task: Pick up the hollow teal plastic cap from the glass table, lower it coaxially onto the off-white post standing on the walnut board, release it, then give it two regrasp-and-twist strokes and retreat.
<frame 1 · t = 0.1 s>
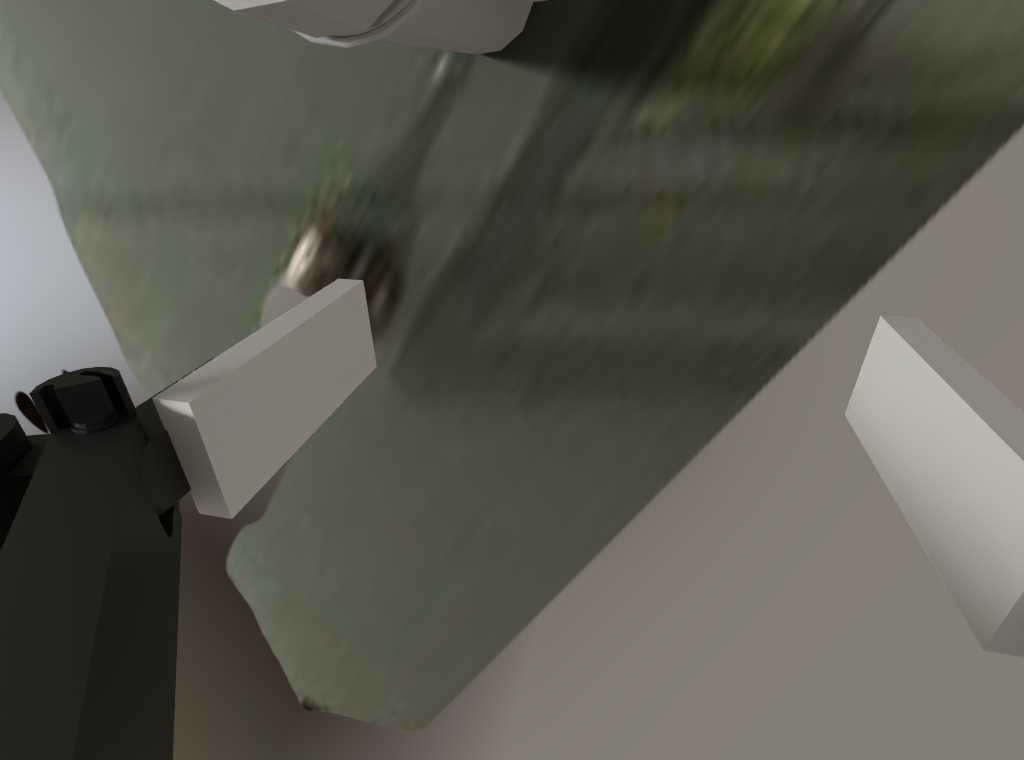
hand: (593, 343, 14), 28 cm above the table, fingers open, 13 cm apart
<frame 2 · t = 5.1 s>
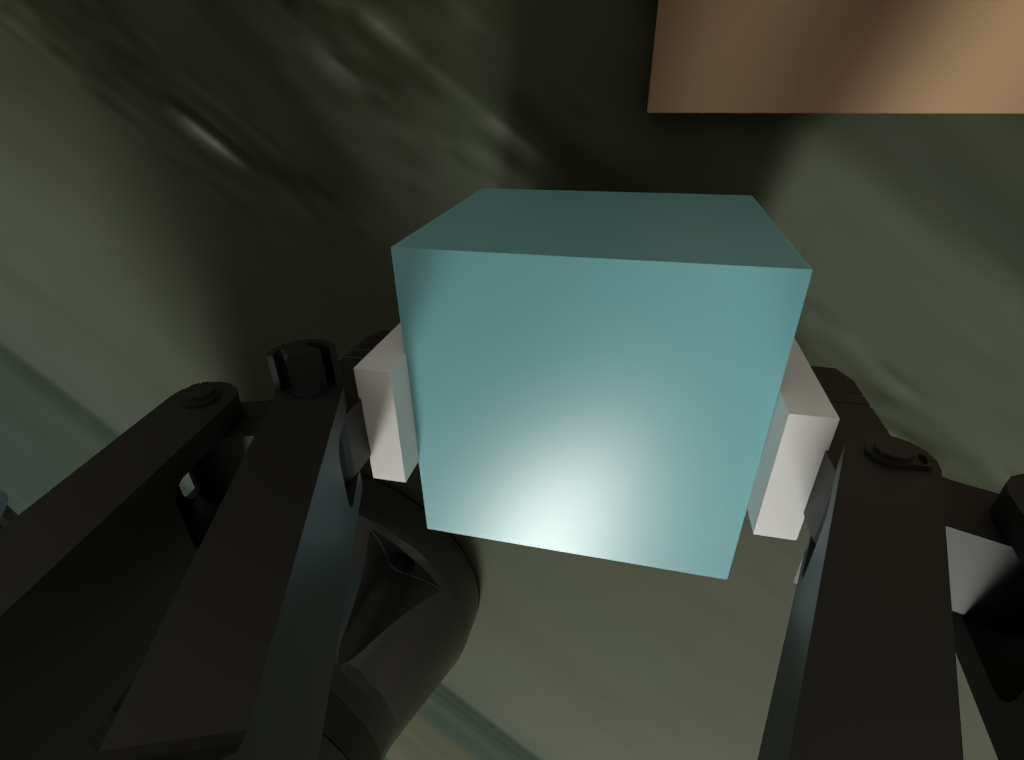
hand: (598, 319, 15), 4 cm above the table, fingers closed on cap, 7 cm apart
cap: (601, 315, 16), point 4 cm above the table, touching gripper
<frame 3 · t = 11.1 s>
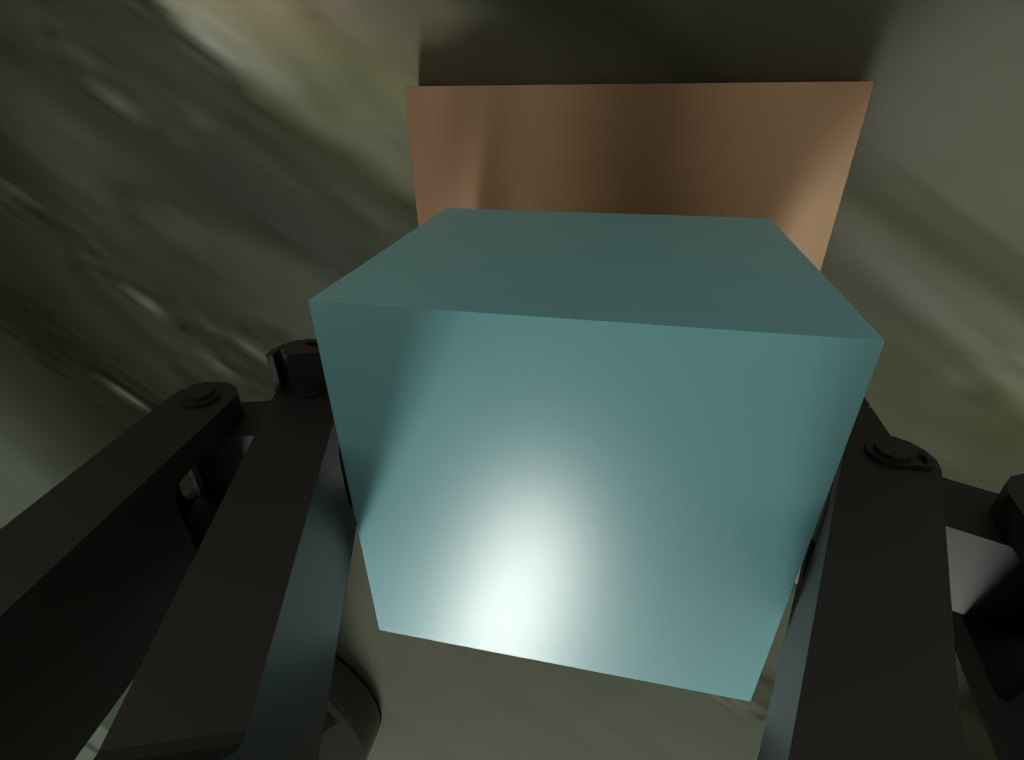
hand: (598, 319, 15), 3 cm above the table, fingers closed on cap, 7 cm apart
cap: (589, 355, 13), point 5 cm above the table, touching gripper, neck stand
neck stand: (604, 290, 18), on the table
when the fingers open (4 cm above the table, at t = 12.1 s): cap drops 1 cm, resting on neck stand.
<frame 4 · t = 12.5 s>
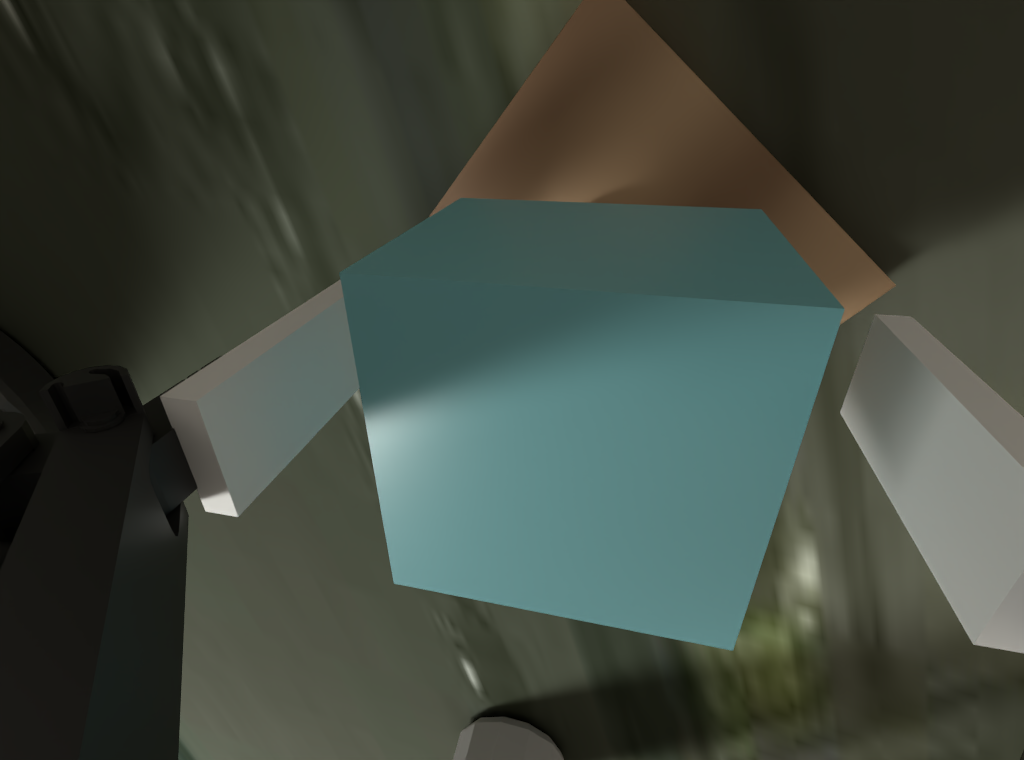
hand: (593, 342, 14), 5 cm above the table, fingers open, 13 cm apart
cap: (592, 338, 14), point 5 cm above the table, touching neck stand
water bottle: (524, 735, 35), on the table
neck stand: (606, 280, 18), on the table
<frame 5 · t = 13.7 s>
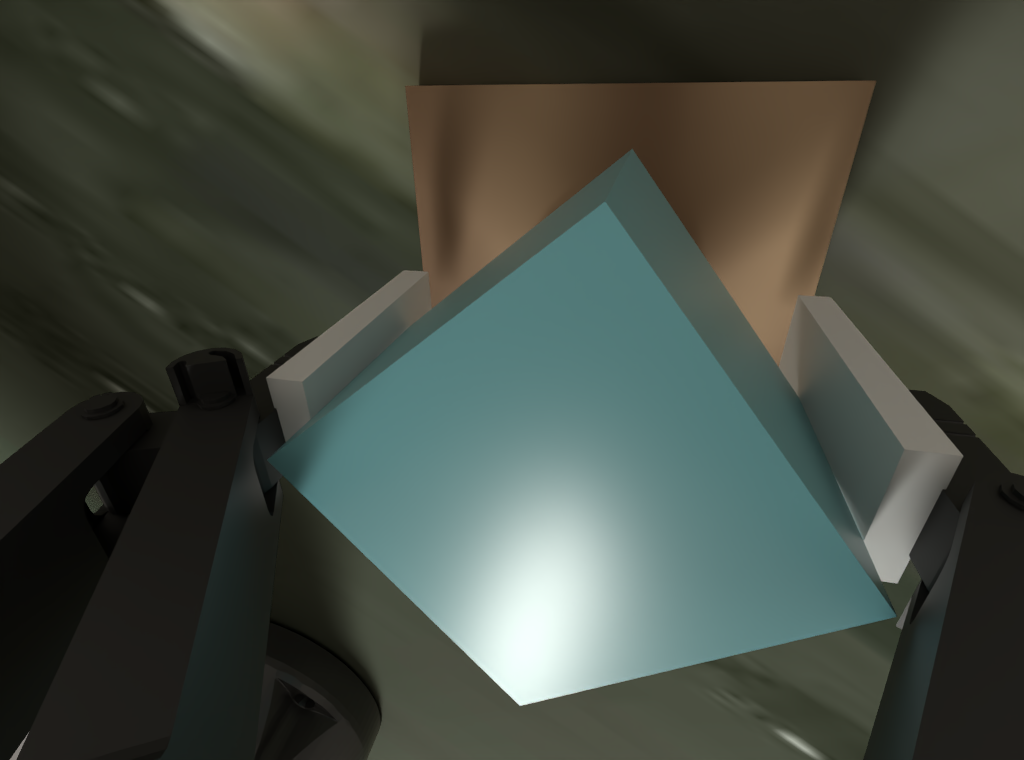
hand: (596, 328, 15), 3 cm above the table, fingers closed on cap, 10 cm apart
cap: (593, 360, 13), point 5 cm above the table, touching gripper
neck stand: (605, 290, 18), on the table
when the fingers open (4 cm above the table, at t = 15.0 s): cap moves 1 cm, resting on neck stand.
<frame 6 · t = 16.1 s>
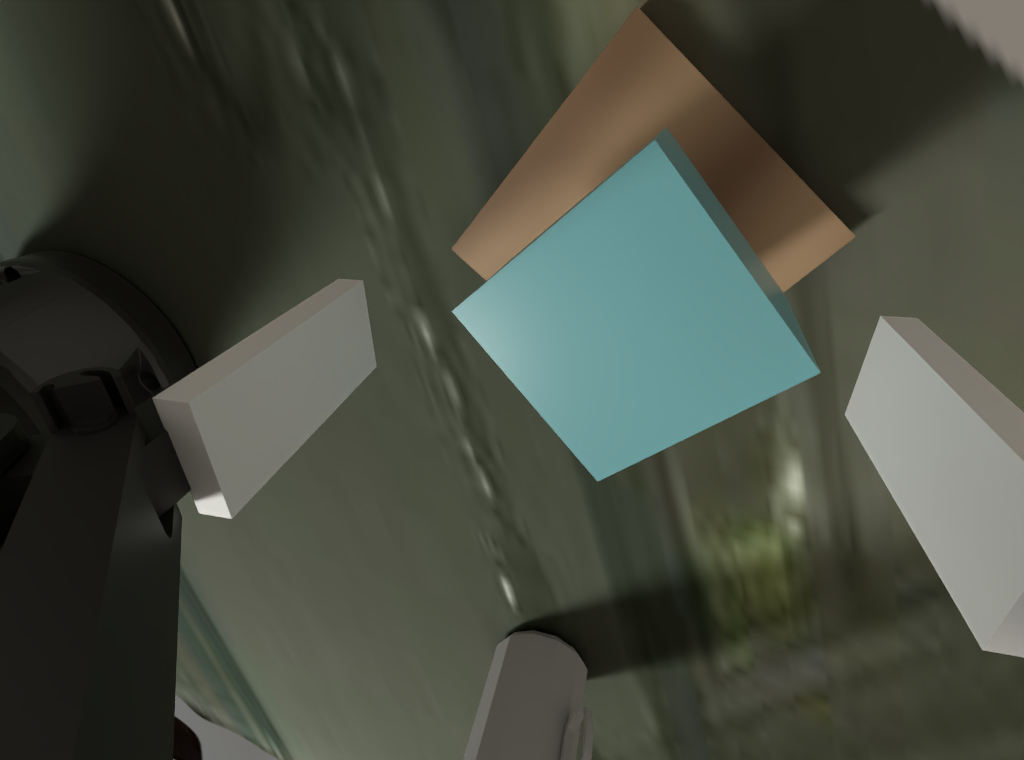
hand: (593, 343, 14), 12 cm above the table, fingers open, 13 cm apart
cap: (640, 276, 19), point 5 cm above the table, touching neck stand
water bottle: (552, 650, 40), on the table
neck stand: (634, 237, 24), on the table
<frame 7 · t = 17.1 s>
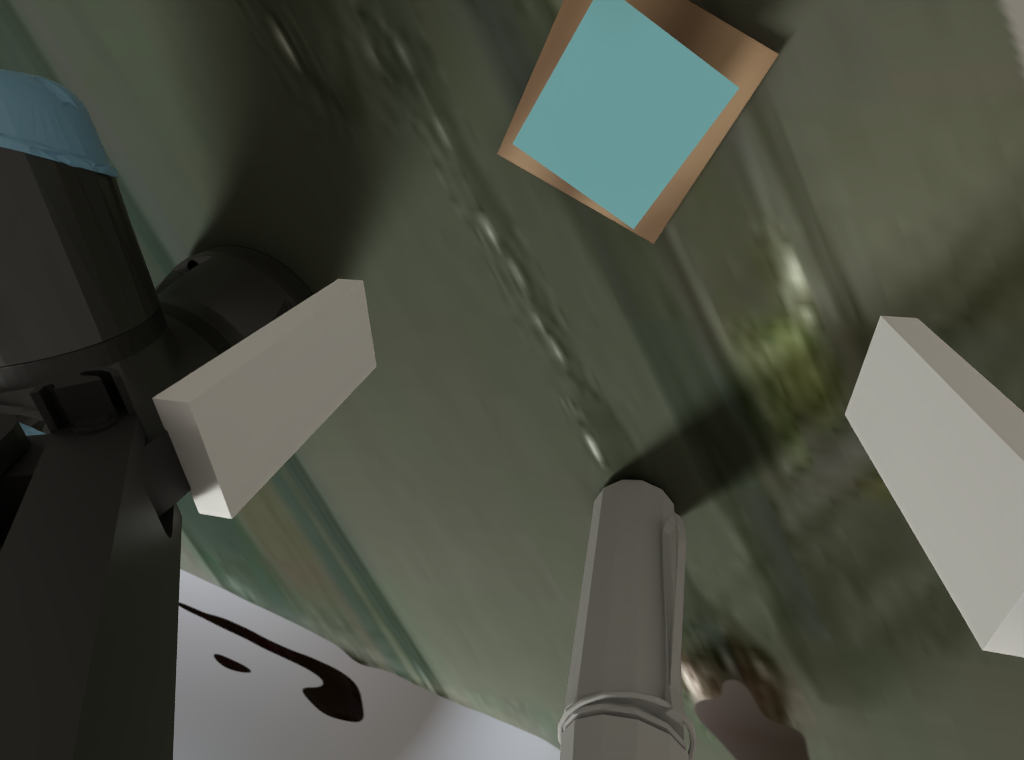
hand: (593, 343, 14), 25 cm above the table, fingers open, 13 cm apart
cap: (621, 113, 28), point 5 cm above the table, touching neck stand
water bottle: (641, 498, 47), on the table
neck stand: (625, 108, 33), on the table
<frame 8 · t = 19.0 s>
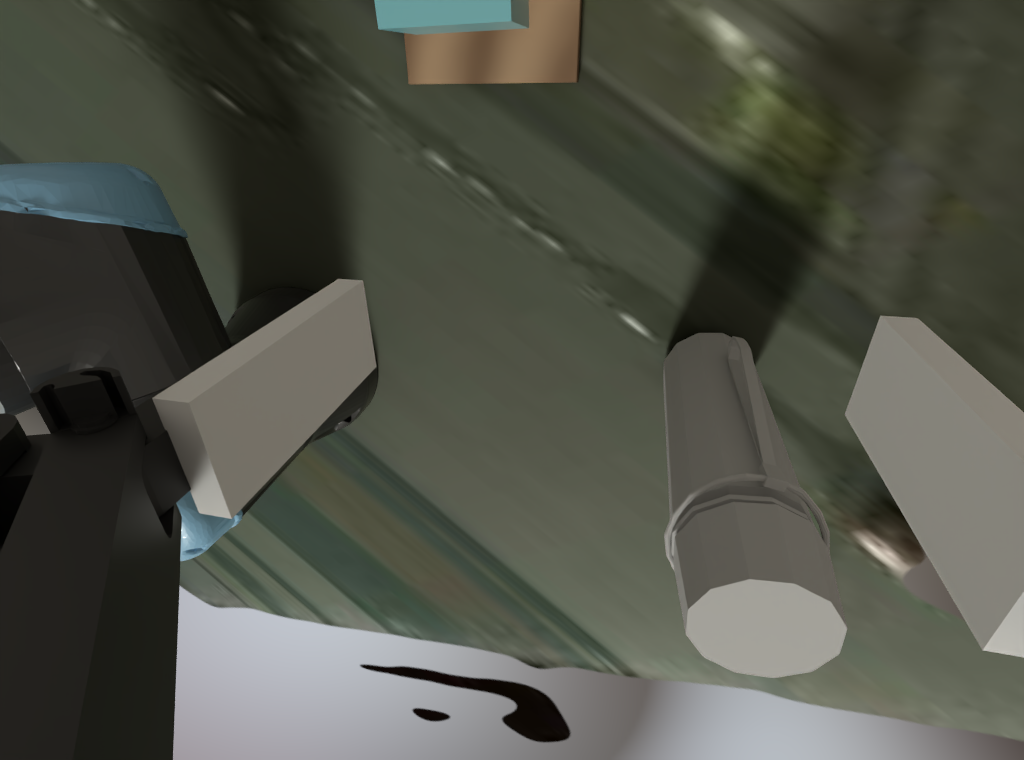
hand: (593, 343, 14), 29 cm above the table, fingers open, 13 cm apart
water bottle: (709, 356, 44), on the table
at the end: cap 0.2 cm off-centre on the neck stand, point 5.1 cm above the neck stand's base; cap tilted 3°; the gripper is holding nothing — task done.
